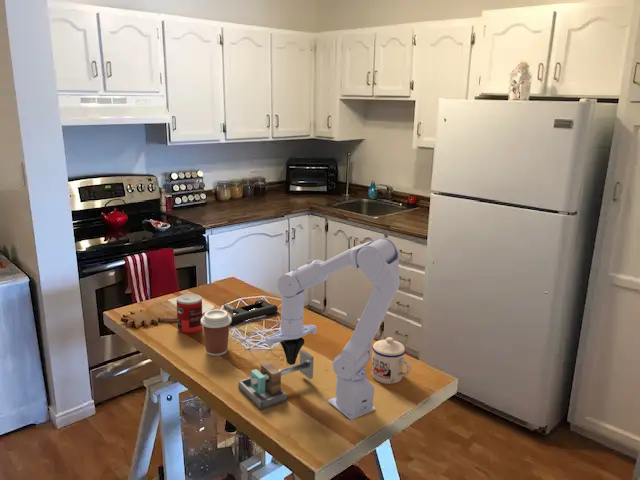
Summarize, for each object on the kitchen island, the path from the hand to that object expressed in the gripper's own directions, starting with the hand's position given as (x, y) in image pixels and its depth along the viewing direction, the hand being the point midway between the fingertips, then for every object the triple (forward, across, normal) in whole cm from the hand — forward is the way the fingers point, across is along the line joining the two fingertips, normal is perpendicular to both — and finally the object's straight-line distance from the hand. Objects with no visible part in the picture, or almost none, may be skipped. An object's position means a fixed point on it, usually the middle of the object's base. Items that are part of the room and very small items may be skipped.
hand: (290, 363), depth 140 cm
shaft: (+5, +3, 0) cm, 6 cm away
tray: (+6, +9, 0) cm, 11 cm away
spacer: (+5, +10, 0) cm, 11 cm away
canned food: (+7, +10, -46) cm, 47 cm away
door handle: (+7, -12, -49) cm, 51 cm away
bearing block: (+6, +6, 0) cm, 9 cm away
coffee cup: (+7, +8, -28) cm, 30 cm away
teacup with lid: (+7, -26, +12) cm, 29 cm away
